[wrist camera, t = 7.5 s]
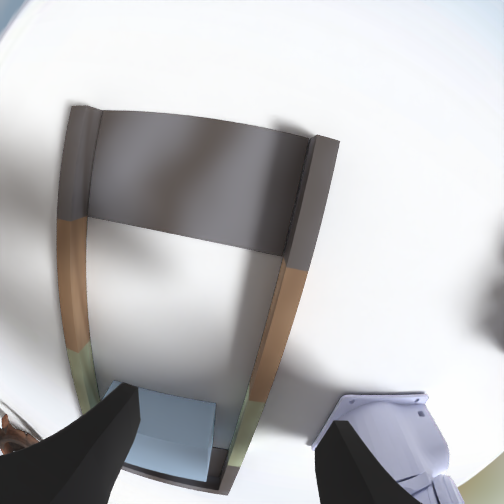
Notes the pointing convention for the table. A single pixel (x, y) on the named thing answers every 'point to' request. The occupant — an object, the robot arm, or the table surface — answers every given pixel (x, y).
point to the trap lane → (191, 226)
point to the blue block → (172, 434)
